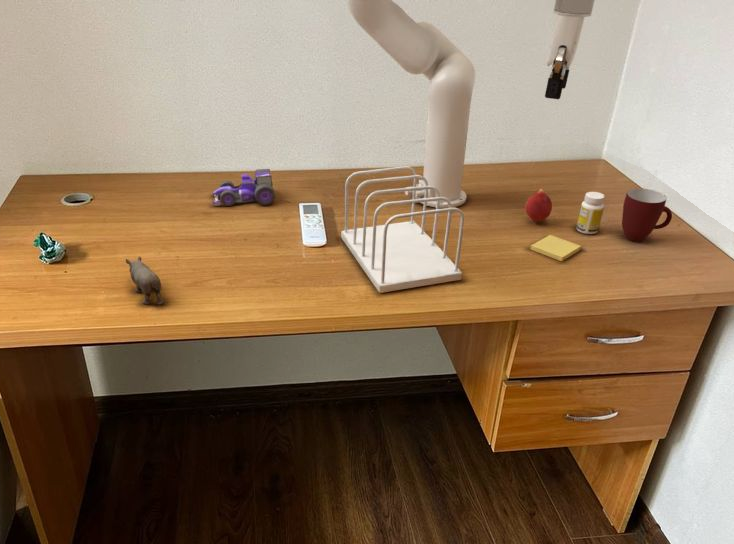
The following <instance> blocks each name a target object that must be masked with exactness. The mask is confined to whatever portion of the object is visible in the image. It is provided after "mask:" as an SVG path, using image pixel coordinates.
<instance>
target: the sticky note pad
mask: <svg viewBox="0 0 734 544" xmlns="http://www.w3.org/2000/svg"><path fill="white" fill-rule="evenodd" d="M581 248H582V245H580V244H577V243H574V242H571V241H568V240H565V239H563V238H560V237H558V236H555V235H552V234H549V235H547V236H545V237H543V238H542V239H540V240H538V241H537V242H534V243H533V244H531V245H530V250H531V251H533V252H535V253H539V254H541V255H544V256H545V257H546V256H547V257H549V258H552V259H554V260H557V261H560V262H563V261H565V260H567V259H568V258H570V257H571V256H574V254H576V253H578V252H580V251H581Z"/></svg>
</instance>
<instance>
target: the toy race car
mask: <svg viewBox="0 0 734 544" xmlns="http://www.w3.org/2000/svg"><path fill="white" fill-rule="evenodd" d="M240 176H241V183H240V184H238V185H235V184H234V183H233V182H232V181H230V180H223V181H222V182H220V184H219V187H218V188H217V189H216V190H213V191H212V196H213V197H214V201H213V202H212V205H213V207H221V206H222V205H223V206H225V207H232V206H233V205H236V204H247V203H253V202H257V203H258V204H259V205H261V206H269V205H271V204H272V203H274V201H275V199H276V192H275V189H274V187H273V184H274V183H273V180H272V179H273V177H272V175H271V169H270V168H261V169H255V171H254V177H251V176H250V175H249V174H241V175H240ZM219 198H220V199H219Z"/></svg>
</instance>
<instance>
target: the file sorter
mask: <svg viewBox="0 0 734 544" xmlns="http://www.w3.org/2000/svg"><path fill="white" fill-rule="evenodd" d="M405 170H407V171H410V172H412V174H413V175H404V176H393V177H385V178H384V177H383V178H374V179H367V180H364V181H362V182H360V184H358V186H357V188H356V190H355V194H354V195H355V197H354V217H353V228H352V229H349V184H350V181H351V180H352V179H353V178H354V177H357V176H360V175H361V176H362V175H370V174H378V173H379V174H380V173H385V172H386V173H387V172H394V171H405ZM404 180H413V186H412V187H411V186H409V187H410V188H406V187H401V188H400V187H399V188H390V189H389V188H388V189H379V190H375V191H373V192H371V193H370V194H368V196H367V197H366V199H365V202H364V207H363V208H364V209H363V224H362V225H363V226H362V227H358V213H359V212H358V210H359V209H358V207H359V195H360V191H361V189H362V188H363V187H365V185H366V186H367V185H368V184H376V183H385V182H394V181H404ZM418 180H424V182H425V186H421V187H416V185H417V181H418ZM344 184H345V186H344V193H345V194H344V230H341V231H340V238H341V240H342V241H343V243H344V244H345V245H346V247H347V248H348V250H349V251H350V253H351V254H352V256H353V257H354V258H355V260H356V262H357V263H358V264H359V265H360V267H361V268H362V270H363V271H364V274H366V276H367V277H368V279H369V280H370V282H371V283H372V284H373V285H374V287H375V289H376V291H377V292H378V293H379V294H383V293H389V292H395V291H400V290H405V289H412V288H419V287H424V286H430V285H435V284H442V283H449V282H454V281H455V282H456V281H460V280H462V276H463V275H462V274H463V272H462V271H461V269H459V264H460V258H461V257H460V256H461V249H462V241H463V233H464V225H465V214H464V212H463V211H462V210H461V209H459V208H458V207H452V204H451V202H450V201H449V200H448V199H447V198H445V197H440V193H439V191H438V189H437V188H435V187H433V186H428V182H427V180H426V178H424V177H423V175H420V174H417V172H416V170H415V169H414V168H413V167H411V166H408V165H407V166H406V165H403V166H396V167H395V166H394V167H387V168H386V167H385V168H378V169H368V170H361V171H354V172H353V173H351V174H350V175H348V177H347V178H346V181H345V183H344ZM428 189H432V190H434V191H435V192H436V193H437V197H434V198H427V195H428ZM416 190H425V196H424V199H416V198H415V196H416ZM404 191H413V194H412V198H411V199H405V200H404V199H403V200H396V201H387V202H383V203H381V204H380V205H379V206H377V208H376V209H375V211H374V214H373V220H372V221H373V223H372V226H367V223H368V221H367V220H368V207H369V202H370V201H371V199H372V198H373V197H375V196H377V195H382V194H383V195H384V194H391V193H402V192H404ZM404 193H405V192H404ZM440 200H443V201H446V202H447V203H448V205H449V208H439V205H440ZM429 201H437V203H436V207H435V209H429V210H427V202H429ZM420 202H424V204H423V206H422V210H421V211H415V206H416V204H417V203H420ZM409 204H411V212H407V213H400V214H399V213H398V214H395V215H392V216H391V217H390V218H388V219H387V221H386V222H385V223H384V224H379V225H377V218H378V214H379V212H380V211H381V210H382V209H383V208H386V207H389V206H398V205H409ZM453 212H456V213H459V215H460V216H459V217H460V223H459V231H458V232H459V233H458V240H457V247H456V254H455V255H456V256H455V263H454V261H452V260H451V258H449V257H448V256H447V250H448V244H449V243H448V242H449V235H450V228H451V221H452V214H453ZM440 213H447V219H446V220H447V221H446V227H445V228H446V229H445V236H444V242H443V250H442V248H440V246H438V244H437V243H436V236H437V235H436V234H437V227H438V219H439V214H440ZM432 214H434V219H433V220H434V222H433V227H432V236H431V237H430V236H429V235H428V234H427V233H426V232H425V225H426V224H425V223H426V215H432ZM417 216H421V225H419V224H418V223H417V222H416V221H415V217H417ZM403 218H410V221H402V222H401V221H400V222H394V223H392V222H393V221H395V220H397V219H403Z"/></svg>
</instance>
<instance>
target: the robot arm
mask: <svg viewBox="0 0 734 544" xmlns="http://www.w3.org/2000/svg"><path fill="white" fill-rule="evenodd" d="M345 1H346V5H347V8H348V10H349V12H350V14H351V16H352V18H353V19H354V20H355V22H356V23H357V24H358V25H359V26H360V28H361V29H362V30H363V31H364V32H365V33H366V34H367V35H369V36H370V37H371V38H372V39H373V40H374V41H375V43H377V44H378V45H379V46H380V47H381V48H382V50H383V51H385V52H386V53H387V54H388V56H390V57H391V58H392V59H393V60H394V61H395V62H396V63H397V64H398V65H399V67H401V68H402V69H403V70H404V71H405V72H407V73H409V74H411V75H423V76H424V77H426V78H427V79H428V80H429V86H428V96H427V121H426V133H425V134H426V136H425V148H424V150H425V151H424V159H423V174H422V176H423V177H424V178H426V180H427V182H428V186H433V187H435V188H437V189H438V191H439V193H440V197H445V198H447V199H448V200H449V201H450V202H451V204H452V208H458V207H459V206H462V205H464V204H465V203H466V201H467V196H468V195H467V193H466V192H465V191H464V190H463V189H462V184H463V176H464V167H465V158H466V150H467V140H468V130H469V121H470V113H471V105H472V97H473V91H474V86H475V82H476V70H475V66H474V63H472V61H471V60H470V58H469V57H468V56H466V54H465V53H464V52H463V51H462V50H461V49H459V47H458V46H456V45H455V44H454V43H453V42H452V41H451V39H449V38H448V37H447V36H446V35H445V34H444V33H443V32H442V31H441V30H440V29H438V28H437V27H436V26H434V25H433V24H432V23H429V22H426V21H419V22H416V21H415V20H414V19H413V18H412V17H411V16H410V15H409V14H407V13H406V12H405V10H404V9H403V8H402V7H401V6H400V5H398V4H397V3H396V2H394V1H393V0H345ZM594 5H595V0H555V2H554V8H553V14H555V15H557V17H556V20H555V24H554V28H553V33H552V37H551V41H550V45H549V49H548V55H547V57H546V58H547V60H546V63H545V64H546V66H547V67H550V65H552V66H551V69H550V74H549V76H548V78H547V84H546V87H545V93H544V98H545V99H552V100H560V99H561V96H562V92H563V90H564V89H566V88H567V83H568V78H569V74H570V67H571V65H572V64H573V61H574V59H575V56H576V53H577V50H578V47H579V43H580V38H581V34H582V30H583V26H584V23H585V22H584V21H585V18H588V17H591V16H592V13H593V10H594ZM421 186H425V182H424V180H422V179H418V183H416V187H421ZM410 187H413V186H406V187H405V188H410ZM404 194H405V195H406V196H413V191H404ZM424 196H425V190H416V196H415V199H424ZM434 197H437V193H436V192H435V191H434V190H432V189H428V195H427V198H434ZM419 203H420V204H421V205H424V202H419ZM436 203H437V201H429V202H427V205H426V207H431V208H436ZM445 208H449V205H448V203H447V202H446V201H443V200H440V205H439V209H445Z"/></svg>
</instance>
